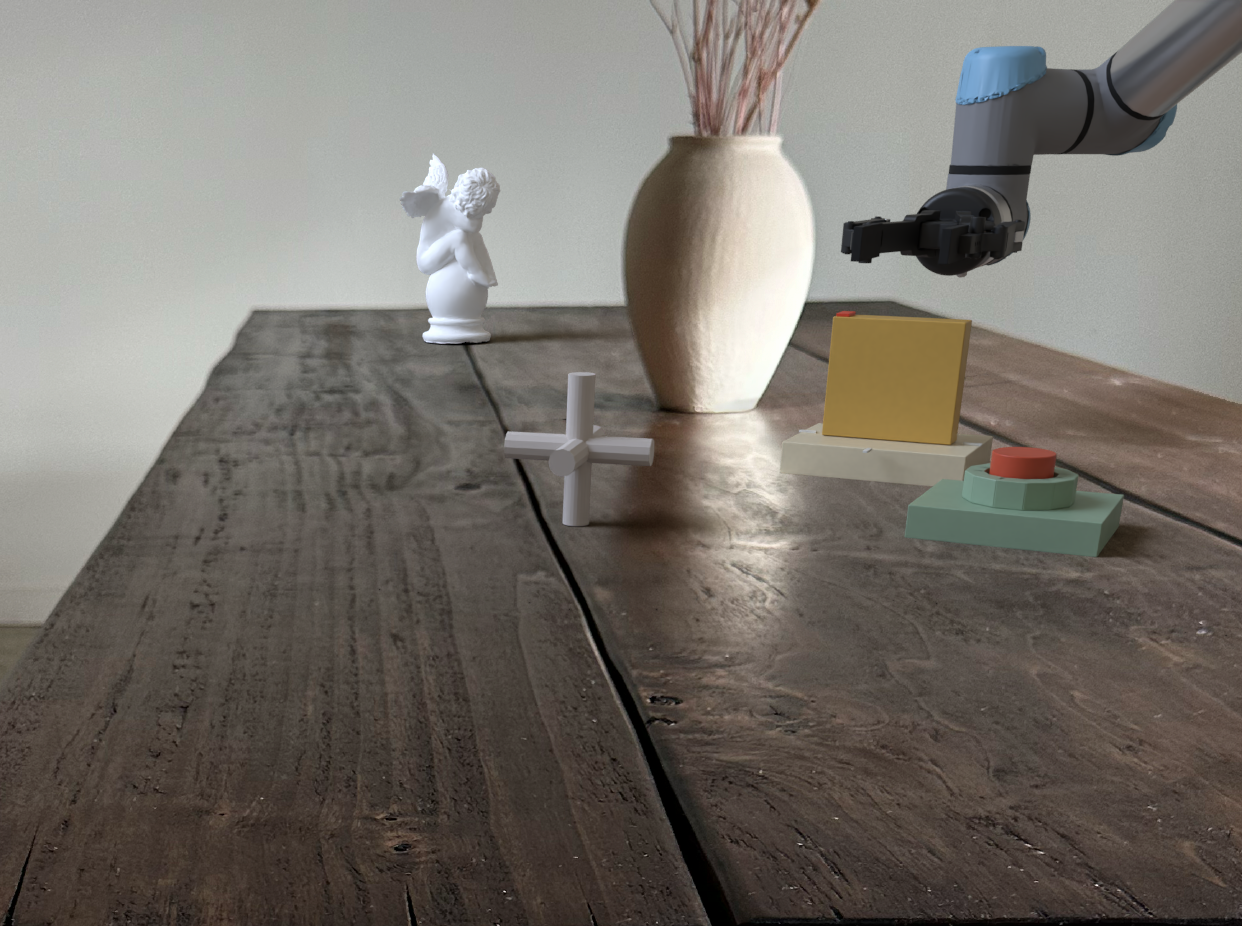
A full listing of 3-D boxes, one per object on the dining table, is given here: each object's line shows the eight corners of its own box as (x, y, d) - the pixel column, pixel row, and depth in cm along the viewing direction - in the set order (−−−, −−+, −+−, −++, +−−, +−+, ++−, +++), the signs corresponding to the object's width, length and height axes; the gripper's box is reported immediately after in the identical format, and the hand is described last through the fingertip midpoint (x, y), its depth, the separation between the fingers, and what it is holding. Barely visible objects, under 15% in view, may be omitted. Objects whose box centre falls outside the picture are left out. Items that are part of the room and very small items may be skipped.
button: (1057, 476, 112) (1061, 449, 112) (1047, 486, 109) (1051, 459, 108) (995, 471, 114) (998, 444, 113) (983, 481, 111) (986, 454, 110)
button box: (1118, 527, 114) (1128, 467, 113) (1096, 557, 106) (1107, 494, 105) (938, 509, 120) (945, 452, 118) (904, 537, 112) (911, 477, 110)
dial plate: (995, 463, 136) (1000, 430, 135) (957, 495, 124) (962, 458, 123) (820, 449, 142) (824, 417, 141) (769, 478, 131) (772, 443, 130)
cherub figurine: (508, 343, 212) (513, 153, 203) (424, 349, 206) (425, 155, 197) (456, 334, 222) (458, 152, 213) (375, 340, 216) (373, 154, 207)
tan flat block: (956, 440, 131) (972, 316, 127) (950, 445, 129) (966, 319, 125) (829, 430, 135) (841, 310, 132) (821, 435, 134) (833, 313, 130)
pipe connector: (633, 544, 111) (641, 387, 107) (486, 533, 114) (489, 381, 110) (660, 513, 119) (669, 367, 115) (523, 504, 122) (527, 362, 118)
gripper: (1064, 276, 153) (1017, 298, 135) (851, 269, 162) (780, 289, 144) (1077, 187, 150) (1031, 197, 132) (860, 185, 159) (788, 194, 141)
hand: (900, 245), depth 138 cm, fingers open, 6 cm apart
